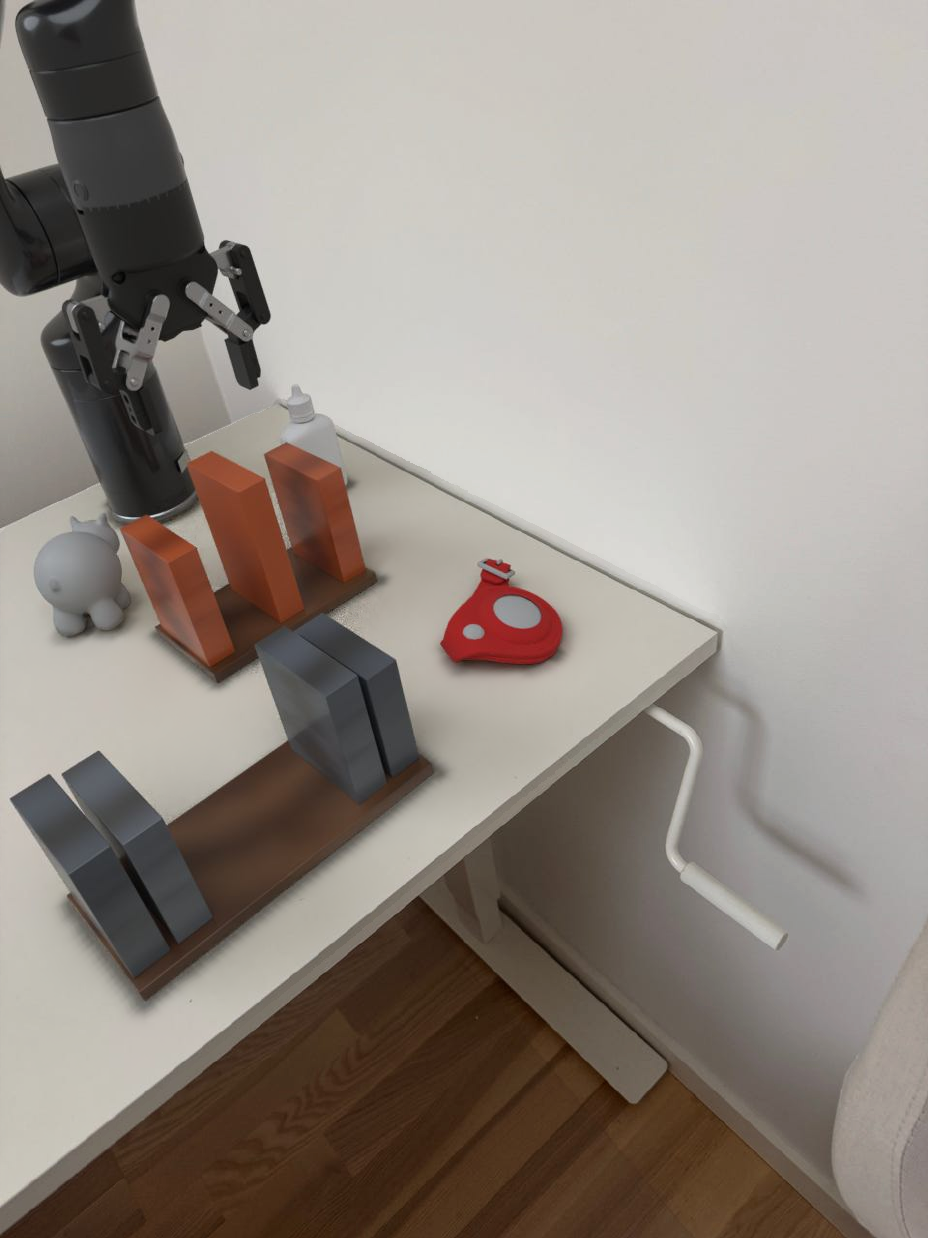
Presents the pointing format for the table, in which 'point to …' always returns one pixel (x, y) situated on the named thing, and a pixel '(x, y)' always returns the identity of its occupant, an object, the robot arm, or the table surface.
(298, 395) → the eye dropper bottle
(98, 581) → the toy rhinoceros
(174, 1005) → the table surface
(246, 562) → the orange book
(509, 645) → the tracker holder
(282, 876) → the grey rack
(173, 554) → the orange rack
